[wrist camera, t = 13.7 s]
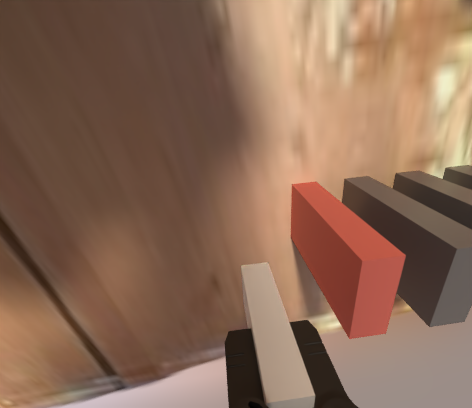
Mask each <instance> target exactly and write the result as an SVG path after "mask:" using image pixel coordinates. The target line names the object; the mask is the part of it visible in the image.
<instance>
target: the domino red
mask: <svg viewBox="0 0 472 408" xmlns="http://www.w3.org/2000/svg"><path fill="white" fill-rule="evenodd" d="M291 238H292V240H293V242H294V244H295V245H296V247H297V249H298V250H299V252H300V254H301V256H302V257H303V259H304V261H305V263H306V264H307V266H308V268H309V270H310V271H311V273H312V275H313V277H314V278H315V280H316V282H317V284H318V285H319V287H320V289H321V291H322V292H323V294H324V296H325V298H326V299H327V301H328V303H329V304H330V306H331V308H332V310H333V311H334V313H335V315H336V317H337V318H338V320H339V322H340V324H341V325H342V327H343V329H344V331H345V332H346V334H347V336H348V337H349V339H352V338H359V337H365V336H372V335H379V334H386V331H387V327H388V324H389V320H390V316H391V312H392V308H393V304H394V300H395V296H396V292H397V288H398V285H399V281H400V277H401V273H402V269H403V265H404V261H405V257H406V255H405V254H404V253H402V252H401V251H400V250H399V249H397V248H396V247H395V246H394V245H393V244H391V243H390V242H389V241H388V240H386V239H385V238H384V237H383V236H382V235H380V234H379V233H378V232H377V231H376V230H374V229H373V228H372V227H371V226H369V225H368V224H367V223H366V222H365V221H363V220H362V219H361V218H360V217H358V216H357V215H356V214H355V213H354V212H352V211H351V210H350V209H349V208H347V207H346V206H345V205H344V204H343V203H341V202H340V201H339V200H338V199H336V198H335V197H334V196H333V195H332V194H330V193H329V192H328V191H327V190H325V189H324V188H323V187H322V186H321V185H319V184H318V183H317V182H310V183H301V184H292V207H291Z"/></svg>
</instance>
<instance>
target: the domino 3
mask: <svg viewBox="0 0 472 408" xmlns="http://www.w3.org/2000/svg"><path fill="white" fill-rule="evenodd" d="M443 180H446V181H448V182H451V183H454V184H457V185H459V186H462V187H465V188H468V189H470V190H472V166H469V165H466V166H457V167H448V168H446V169H445V173H444V176H443Z"/></svg>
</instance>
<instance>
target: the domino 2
mask: <svg viewBox="0 0 472 408" xmlns="http://www.w3.org/2000/svg"><path fill="white" fill-rule="evenodd" d="M342 203H343V204H344V205H345V206H346V207H347V208H349V209H350V210H351V211H352V212H354V213H355V214H356V215H357V216H358V217H360V218H361V219H362V220H363V221H365V222H366V223H367V224H368V225H369V226H371V227H372V228H373V229H374V230H376V231H377V232H378V233H379V234H380V235H382V236H383V237H384V238H385V239H386V240H388V241H389V242H390V243H391V244H393V245H394V246H395V247H396V248H397V249H399V250H400V251H401V252H402V253H404V254H405V255H406V257H405V261H404V265H403V269H402V273H401V277H400V281H399V285H398V288H397V293H398V294H399V296H400V297H401V298H402V299H403V300H404V301H405V302H406V303H407V304H408V305H409V306H410V307H411V308H412V309H413V310H414V311H415V312H416V313H417V314H418V315H419V317H420V318H421V319H422V320H424V322H425V323H426V324H427V325H428V326H429V327H433V326H439V325H446V324H452V323H459V322H464V321H465V319H466V317H467V315H468V312H469V310H470V308H471V306H472V230H471V229H469V228H468V227H466V226H464V225H462V224H460V223H458V222H456V221H454V220H452V219H450V218H448V217H446V216H444V215H442V214H440V213H438V212H437V211H435V210H433V209H431V208H429V207H427V206H425V205H423V204H421V203H419V202H417V201H415V200H413V199H411V198H409V197H407V196H406V195H404V194H402V193H400V192H398V191H396V190H394V189H392V188H390V187H388V186H386V185H384V184H382V183H380V182H378V181H376V180H375V179H373V178H371V177H369V176H366V177H357V178H348V179H345V181H344V190H343V199H342Z"/></svg>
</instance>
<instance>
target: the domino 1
mask: <svg viewBox="0 0 472 408" xmlns="http://www.w3.org/2000/svg"><path fill="white" fill-rule="evenodd" d="M393 189H394V190H396V191H398V192H400V193H402V194H404V195H406V196H407V197H409V198H411V199H413V200H415V201H417V202H419V203H421V204H423V205H425V206H427V207H429V208H431V209H433V210H435V211H437V212H438V213H440V214H442V215H444V216H446V217H448V218H450V219H452V220H454V221H456V222H458V223H460V224H462V225H464V226H466V227H468V228H469V229H471V230H472V190H470V189H468V188H465V187H462V186H459V185H457V184H454V183H451V182H448V181H446V180H443V179H440V178H438V177H435V176H432V175H429V174H427V173H424V172H421V171H411V172H402V173H396V176H395V181H394V186H393Z"/></svg>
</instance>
